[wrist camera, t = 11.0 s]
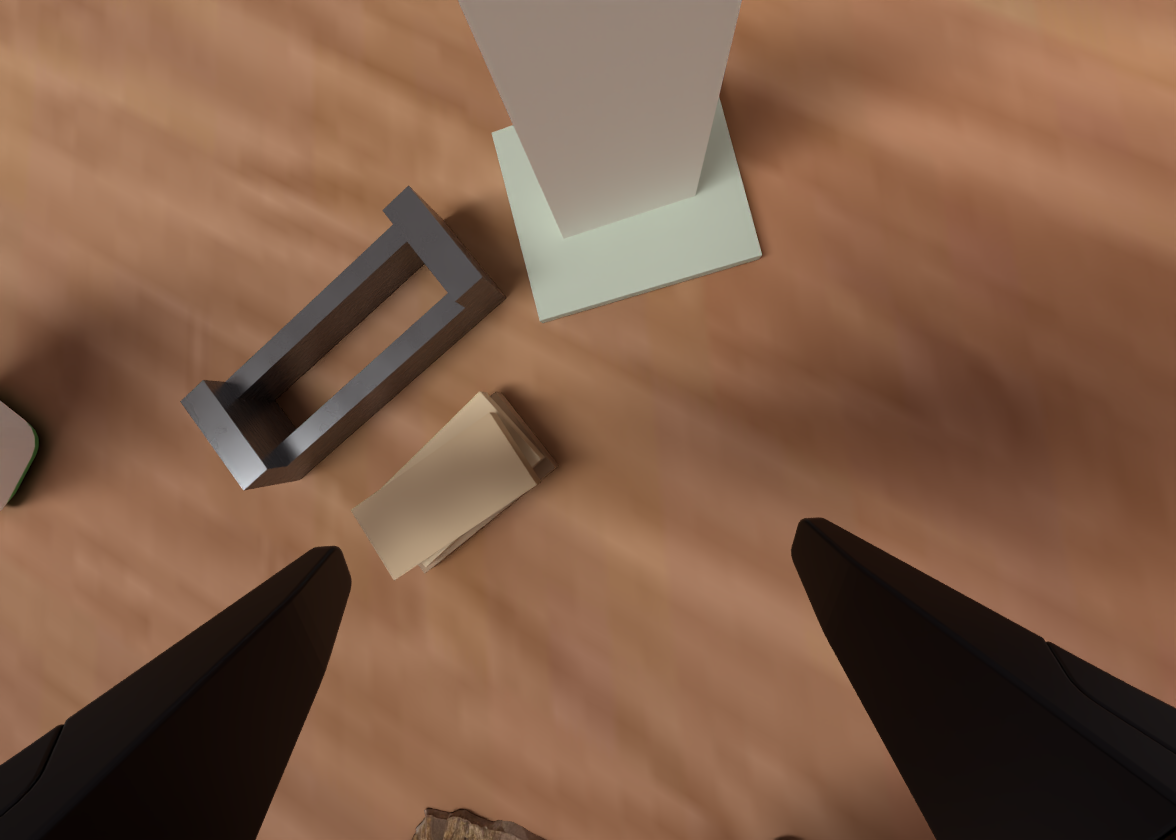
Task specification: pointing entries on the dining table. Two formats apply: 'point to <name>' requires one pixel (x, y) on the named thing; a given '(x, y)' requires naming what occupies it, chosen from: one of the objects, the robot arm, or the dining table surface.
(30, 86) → the dining table surface
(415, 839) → the carved relief fragment
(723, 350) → the dining table surface
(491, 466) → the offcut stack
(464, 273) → the slot rack
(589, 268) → the sage mat
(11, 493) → the cup
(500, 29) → the tall block
